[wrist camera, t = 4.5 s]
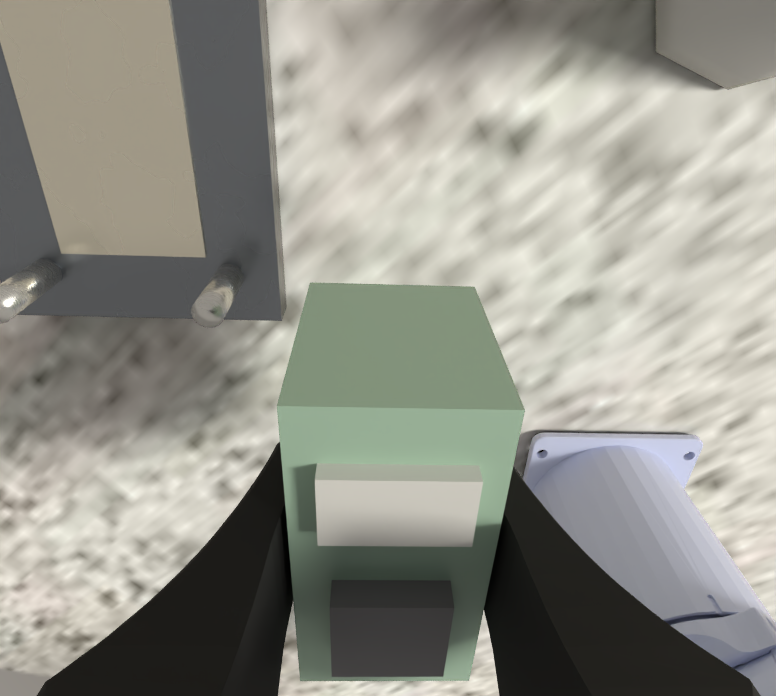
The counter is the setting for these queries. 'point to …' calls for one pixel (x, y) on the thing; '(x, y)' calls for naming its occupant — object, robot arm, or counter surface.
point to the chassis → (138, 161)
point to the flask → (719, 38)
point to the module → (394, 478)
